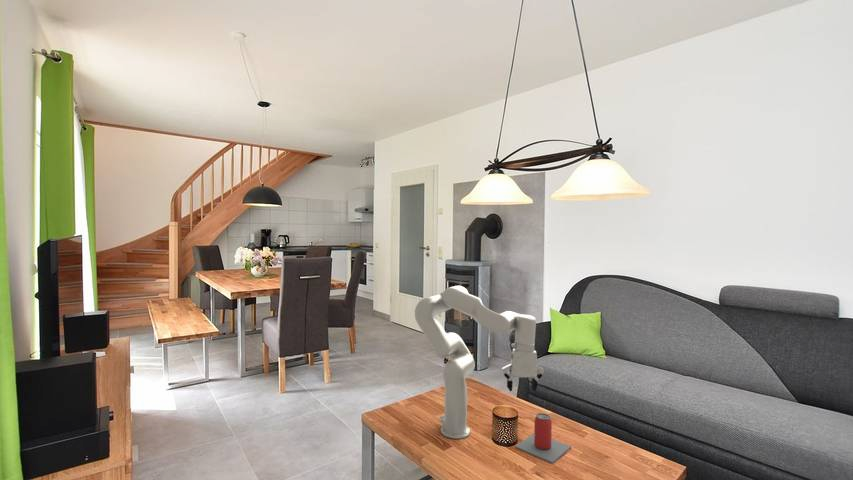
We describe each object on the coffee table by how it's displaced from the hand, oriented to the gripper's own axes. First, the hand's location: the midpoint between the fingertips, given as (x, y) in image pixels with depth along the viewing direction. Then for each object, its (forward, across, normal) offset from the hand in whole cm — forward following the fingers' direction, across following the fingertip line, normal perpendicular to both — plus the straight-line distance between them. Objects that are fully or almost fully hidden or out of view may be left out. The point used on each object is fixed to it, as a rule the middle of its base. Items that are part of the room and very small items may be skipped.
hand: (521, 389), depth 158 cm
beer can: (+23, +10, 0) cm, 25 cm away
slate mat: (+24, +10, 0) cm, 26 cm away
